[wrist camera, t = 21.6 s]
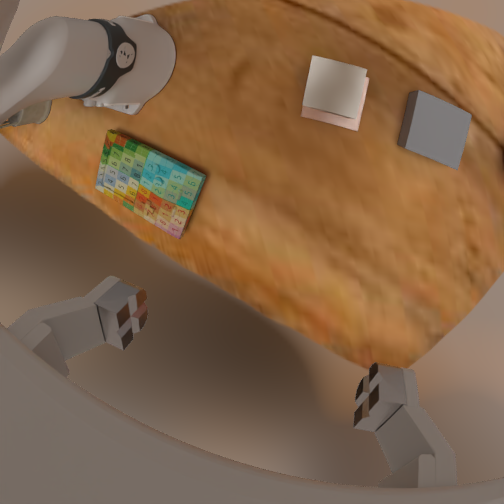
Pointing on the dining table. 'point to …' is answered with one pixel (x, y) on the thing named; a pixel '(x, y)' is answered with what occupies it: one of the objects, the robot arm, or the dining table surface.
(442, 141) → the charcoal plinth
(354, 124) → the terracotta tile
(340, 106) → the cream block
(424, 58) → the dining table surface
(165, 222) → the puzzle game
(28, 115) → the lamp
